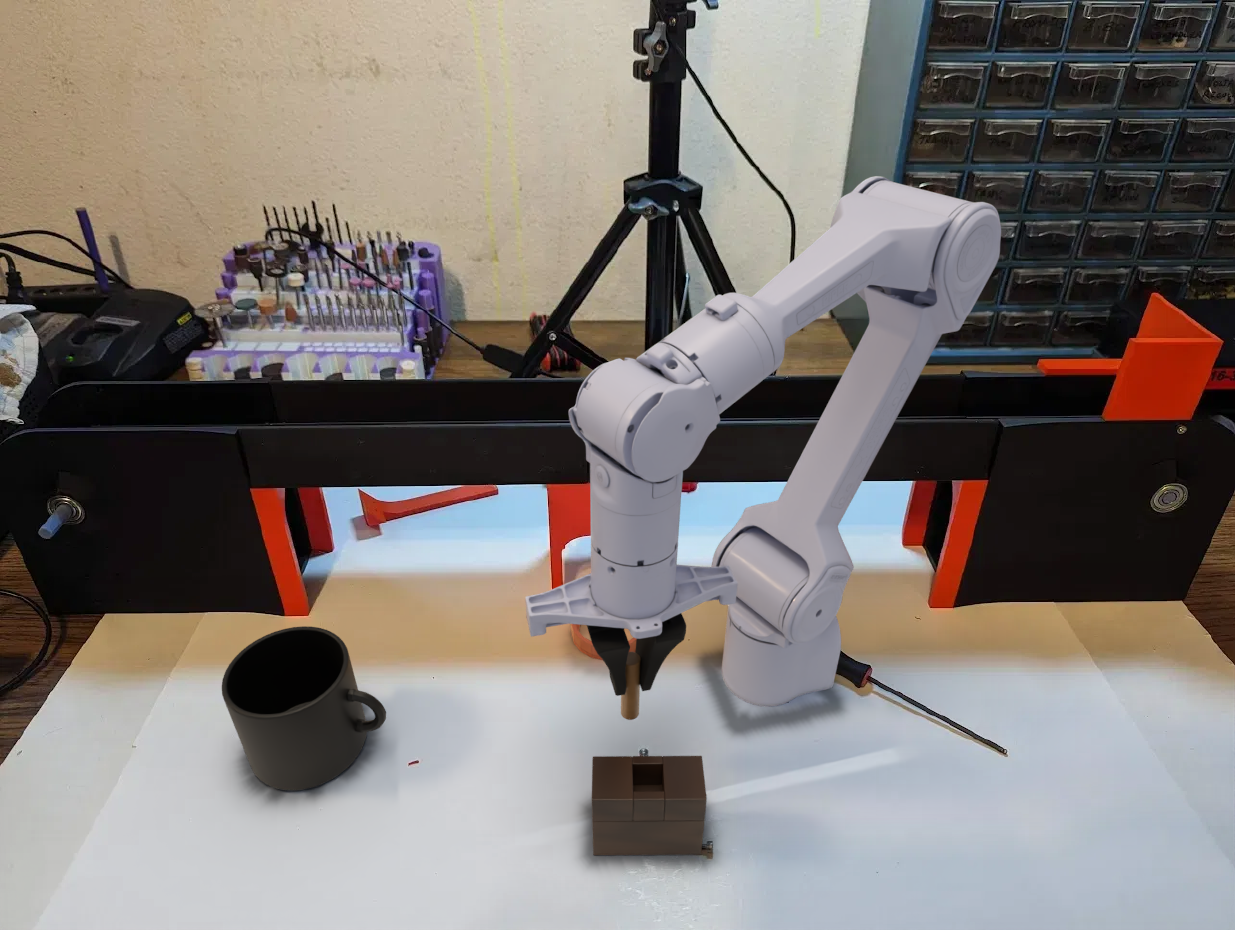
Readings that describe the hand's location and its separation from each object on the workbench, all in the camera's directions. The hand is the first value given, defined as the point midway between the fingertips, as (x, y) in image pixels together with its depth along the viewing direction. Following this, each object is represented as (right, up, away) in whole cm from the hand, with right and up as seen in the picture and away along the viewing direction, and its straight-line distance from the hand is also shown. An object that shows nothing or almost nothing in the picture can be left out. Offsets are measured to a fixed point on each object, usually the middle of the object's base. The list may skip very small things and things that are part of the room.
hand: (630, 682), depth 60 cm
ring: (-2, -1, +18) cm, 18 cm away
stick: (0, -3, +2) cm, 3 cm away
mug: (-25, -7, +8) cm, 28 cm away
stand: (+1, -12, +1) cm, 12 cm away
